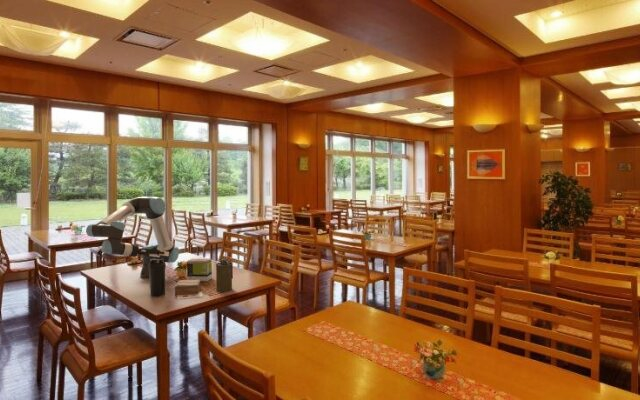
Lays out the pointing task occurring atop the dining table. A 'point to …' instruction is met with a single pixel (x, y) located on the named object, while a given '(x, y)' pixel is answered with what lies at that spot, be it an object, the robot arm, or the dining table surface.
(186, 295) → the page
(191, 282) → the plinth
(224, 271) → the canister
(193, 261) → the tea box
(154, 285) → the water bottle
